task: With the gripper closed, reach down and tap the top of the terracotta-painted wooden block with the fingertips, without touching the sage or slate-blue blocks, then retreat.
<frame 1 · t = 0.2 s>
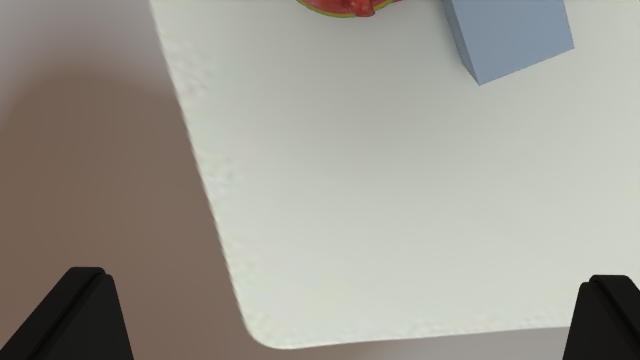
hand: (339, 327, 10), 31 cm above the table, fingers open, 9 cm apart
slate block: (490, 8, 37), on the table
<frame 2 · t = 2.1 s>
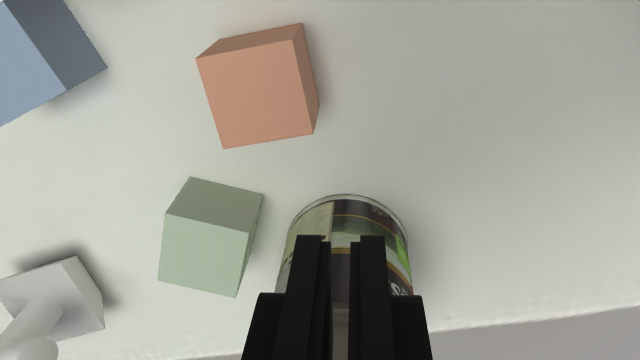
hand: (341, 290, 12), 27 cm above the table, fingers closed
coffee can: (345, 245, 43), on the table
terracotta block: (270, 72, 37), on the table
sage block: (221, 216, 43), on the table
figurine: (70, 278, 47), on the table
slate block: (51, 48, 38), on the table
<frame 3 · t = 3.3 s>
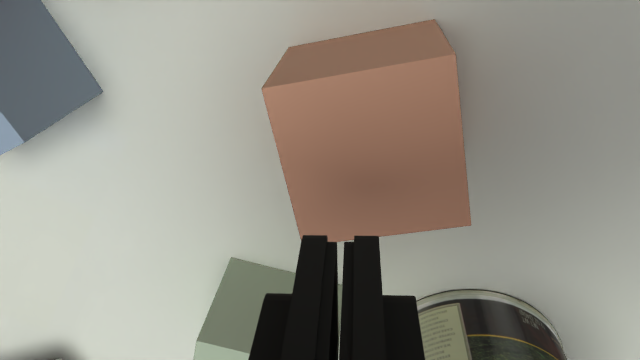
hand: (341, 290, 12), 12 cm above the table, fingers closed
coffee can: (463, 358, 29), on the table
terracotta block: (371, 102, 22), on the table
sage block: (276, 313, 28), on the table
slate block: (11, 59, 23), on the table
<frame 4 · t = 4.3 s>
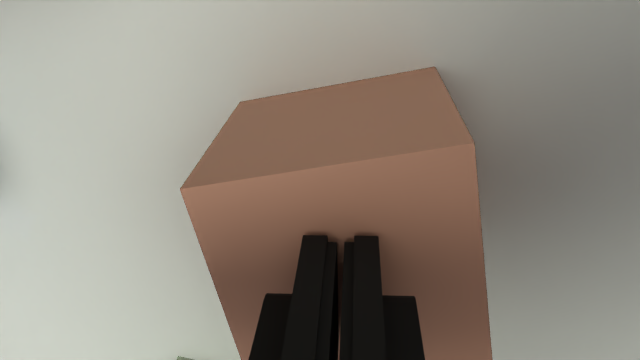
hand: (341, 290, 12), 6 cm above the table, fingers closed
terracotta block: (352, 172, 17), on the table, touching gripper
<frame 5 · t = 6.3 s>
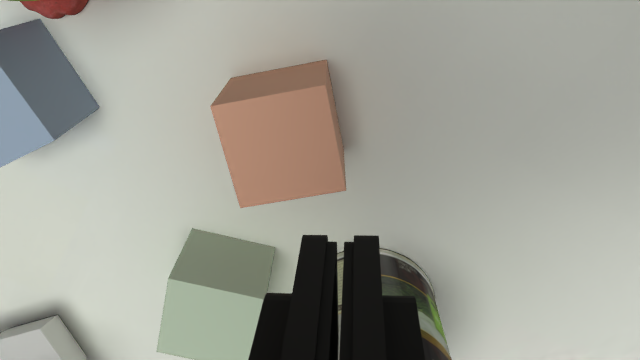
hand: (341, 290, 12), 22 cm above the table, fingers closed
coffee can: (365, 302, 39), on the table
terracotta block: (289, 114, 33), on the table
sage block: (226, 271, 38), on the table
figurine: (49, 340, 41), on the table
slate block: (32, 84, 32), on the table
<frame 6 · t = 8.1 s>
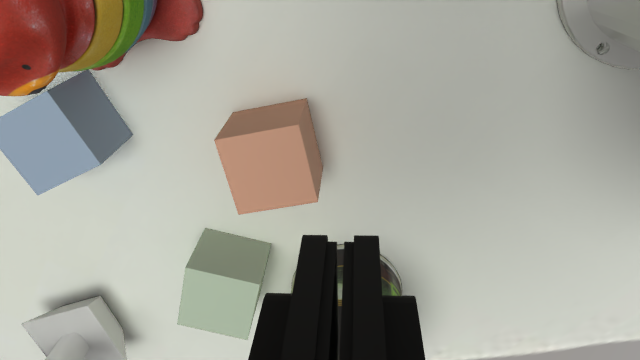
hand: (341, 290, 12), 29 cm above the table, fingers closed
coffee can: (345, 288, 48), on the table
terracotta block: (278, 140, 42), on the table
sage block: (233, 262, 47), on the table
figurine: (94, 315, 51), on the table
slate block: (82, 117, 42), on the table
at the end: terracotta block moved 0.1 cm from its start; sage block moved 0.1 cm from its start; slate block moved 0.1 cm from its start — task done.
